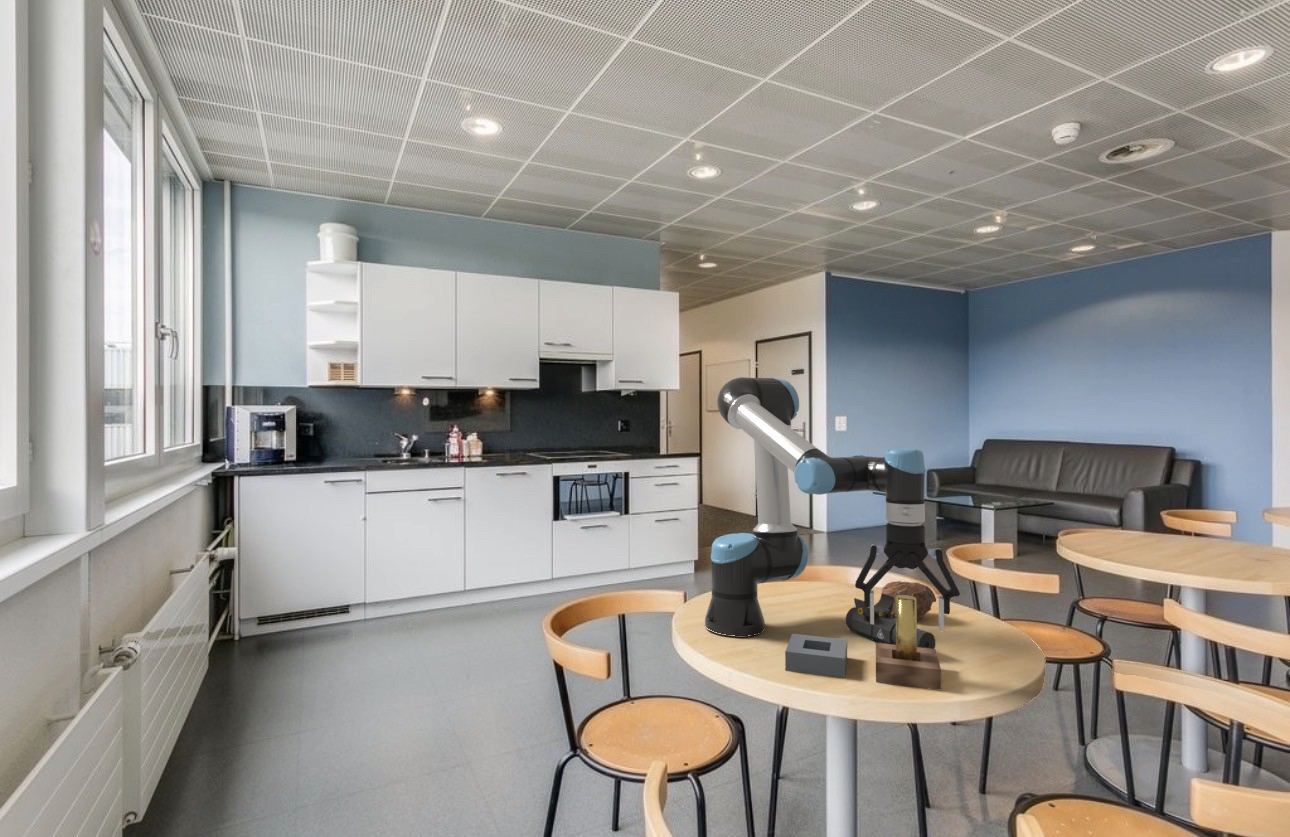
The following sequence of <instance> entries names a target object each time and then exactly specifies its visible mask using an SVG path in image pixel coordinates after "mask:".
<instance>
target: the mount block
mask: <svg viewBox="0 0 1290 837" xmlns="http://www.w3.org/2000/svg"><path fill="white" fill-rule="evenodd" d="M784 652H785V653H784V654H785V655H784V657H785V658H784V662H785V664H784V665H785V668H784V670H785V671H789V672H794V673H802V674H803V673H805V674H812V675H817V676H818V675H819V676H820V675H821V676H826V677H827V676H828V677H835V678H843V679H846V677H845V676H846V671H847V663H848V639H845V638H835V637H826V636H818V635H808V634H799V633H792V634H791V636H790V638H789V641H788V643H787V647H786V649H785V651H784Z"/></svg>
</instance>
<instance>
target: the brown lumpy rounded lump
mask: <svg viewBox="0 0 1290 837" xmlns="http://www.w3.org/2000/svg"><path fill="white" fill-rule="evenodd" d="M882 593H883V594H886V595H890V596H893V597H895V598H894V603H893V609H892V612H891V617H893V618H896V596H898V595H908V596H913V597H915V598H916V606H917V621H919V620H921V619H923V618H924V617H925V616H926V615H927V613H928V612H930V611H931V610H932V605H933V603H936V602H937V598H936V595H935V592H933V590H932V589H931V587H929V586H927V585H925V584H922V583H920V582H917V581H916V582H913V581H912V582H909V581H901V580H896V581H891V582H888V583H886V584H885V586H882V588H881V594H882Z"/></svg>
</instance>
